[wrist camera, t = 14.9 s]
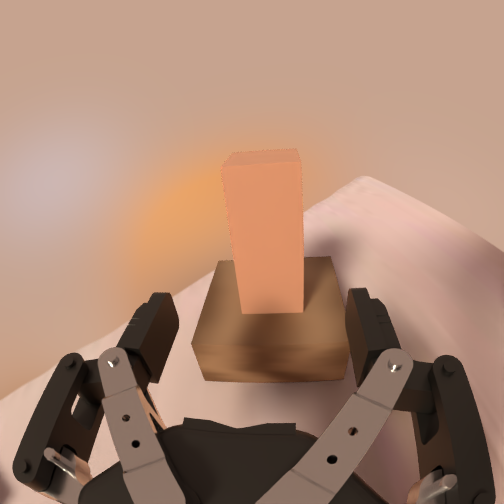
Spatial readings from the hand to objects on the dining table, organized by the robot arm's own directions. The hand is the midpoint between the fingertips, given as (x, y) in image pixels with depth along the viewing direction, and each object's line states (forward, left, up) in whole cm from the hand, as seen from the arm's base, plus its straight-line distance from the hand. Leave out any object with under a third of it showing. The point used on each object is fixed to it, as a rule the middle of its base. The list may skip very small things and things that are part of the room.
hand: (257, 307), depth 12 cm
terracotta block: (0, -10, -7) cm, 13 cm away
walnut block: (0, -10, -12) cm, 16 cm away
